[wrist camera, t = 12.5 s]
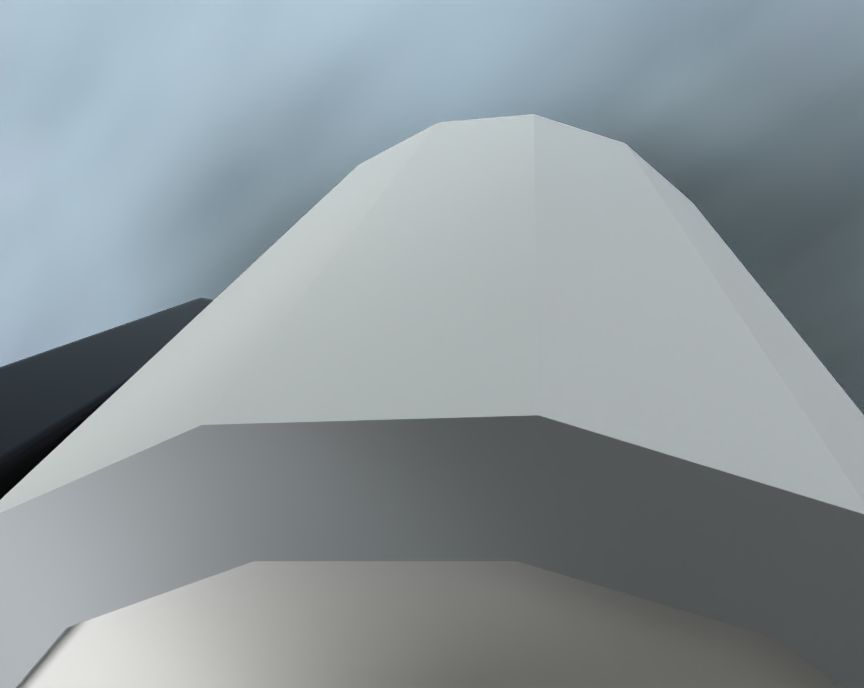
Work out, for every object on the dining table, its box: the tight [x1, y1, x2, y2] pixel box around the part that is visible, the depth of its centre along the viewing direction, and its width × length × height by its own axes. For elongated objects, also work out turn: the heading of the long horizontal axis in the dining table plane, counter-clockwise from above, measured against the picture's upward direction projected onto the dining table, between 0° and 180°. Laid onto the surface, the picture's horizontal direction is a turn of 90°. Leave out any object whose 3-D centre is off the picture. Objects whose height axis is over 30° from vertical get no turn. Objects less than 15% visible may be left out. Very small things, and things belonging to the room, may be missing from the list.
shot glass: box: [0, 114, 864, 688], centre depth 8 cm, size 7×7×7 cm
